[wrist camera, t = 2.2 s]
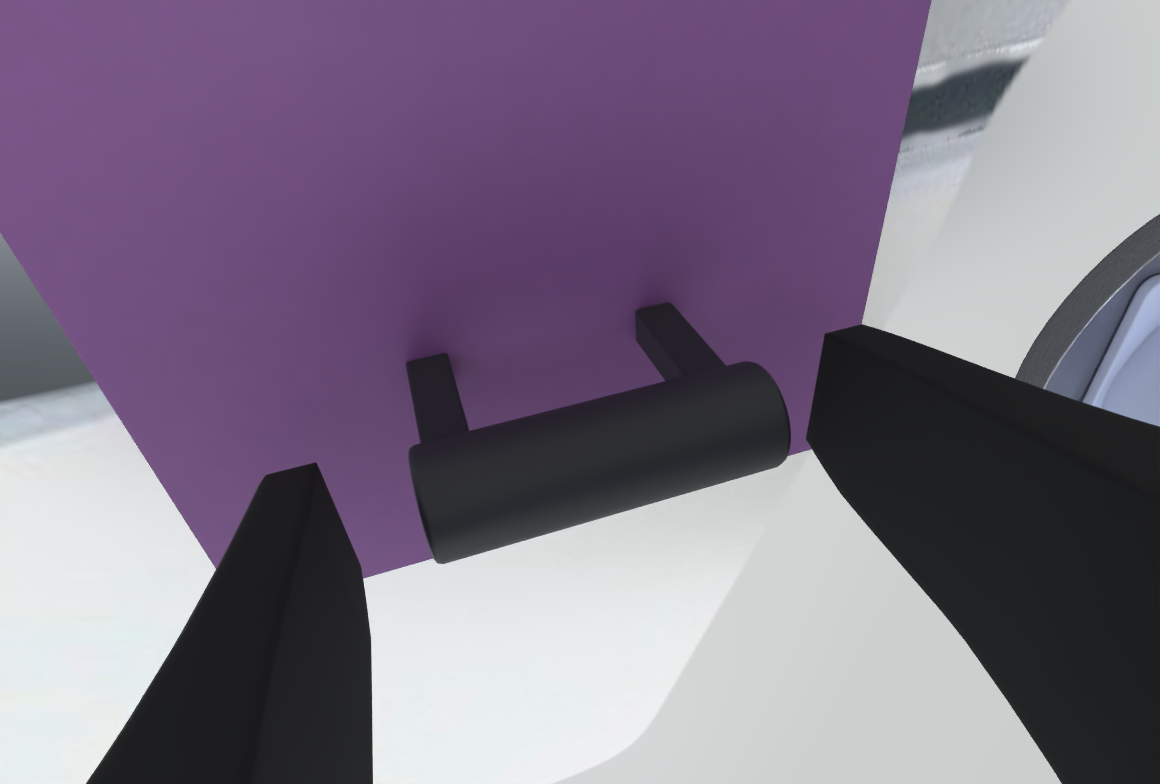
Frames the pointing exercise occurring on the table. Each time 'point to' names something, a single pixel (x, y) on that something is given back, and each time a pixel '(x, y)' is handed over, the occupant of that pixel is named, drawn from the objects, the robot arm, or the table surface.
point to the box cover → (452, 241)
